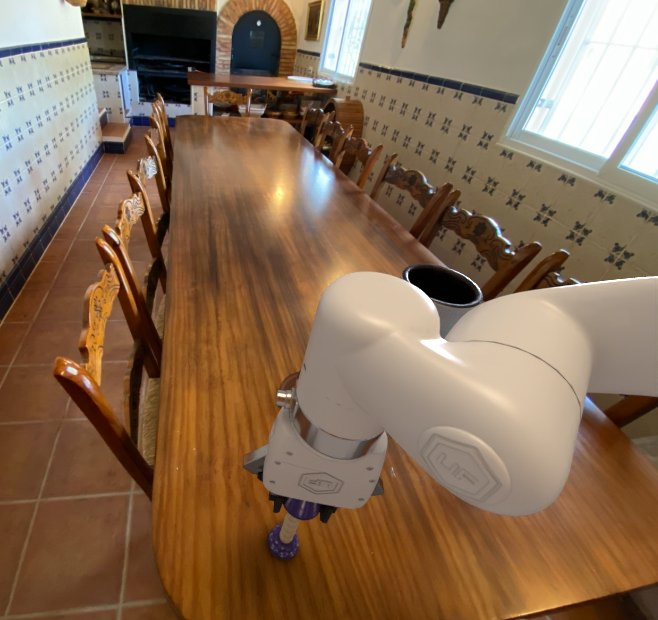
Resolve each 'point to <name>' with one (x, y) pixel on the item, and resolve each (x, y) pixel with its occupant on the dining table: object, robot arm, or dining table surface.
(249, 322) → the dining table surface
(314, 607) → the dining table surface
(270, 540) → the toy lamp
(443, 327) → the planter
